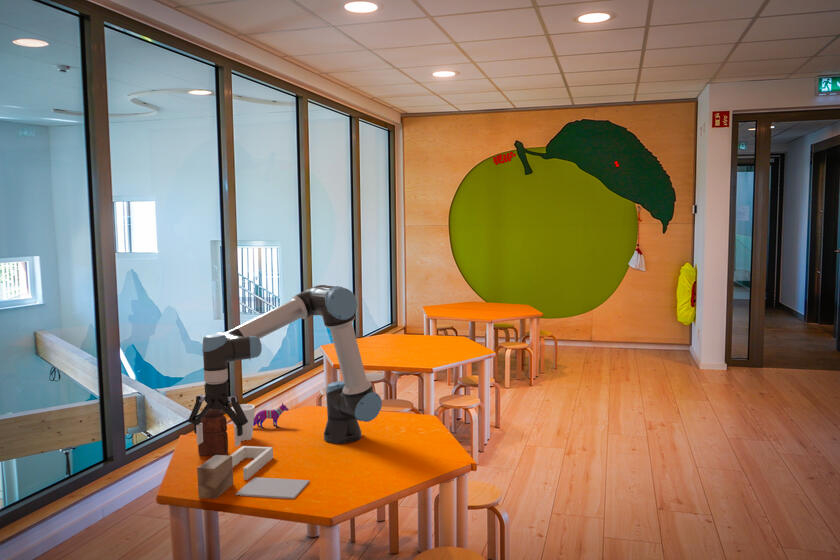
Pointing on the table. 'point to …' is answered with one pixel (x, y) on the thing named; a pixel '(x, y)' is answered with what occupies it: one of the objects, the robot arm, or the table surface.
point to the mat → (273, 488)
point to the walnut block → (215, 476)
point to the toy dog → (269, 415)
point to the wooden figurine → (214, 434)
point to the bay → (259, 453)
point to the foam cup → (248, 427)
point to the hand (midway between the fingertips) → (218, 444)
